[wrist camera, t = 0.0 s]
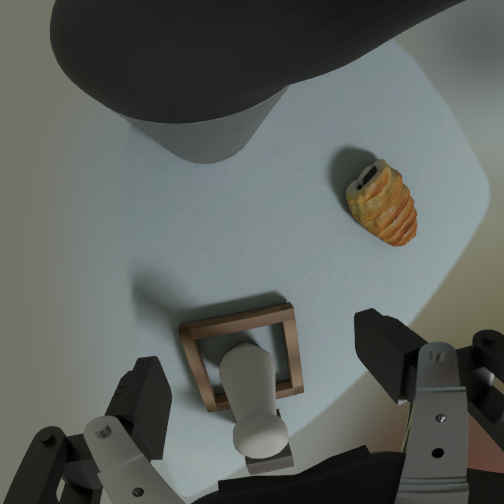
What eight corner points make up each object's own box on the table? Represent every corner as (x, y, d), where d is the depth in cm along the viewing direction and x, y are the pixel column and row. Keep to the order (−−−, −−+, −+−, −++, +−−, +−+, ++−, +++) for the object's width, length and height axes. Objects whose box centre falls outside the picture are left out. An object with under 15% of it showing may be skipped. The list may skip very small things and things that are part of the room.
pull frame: (180, 324, 28) (169, 370, 20) (290, 302, 29) (314, 341, 21) (219, 432, 32) (222, 478, 24) (304, 414, 33) (321, 458, 25)
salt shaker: (214, 374, 30) (217, 465, 18) (223, 331, 29) (230, 422, 16) (264, 379, 31) (287, 467, 19) (277, 339, 30) (311, 425, 17)
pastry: (419, 216, 29) (439, 221, 25) (384, 258, 30) (403, 268, 26) (373, 154, 27) (393, 152, 23) (333, 198, 27) (349, 201, 24)
